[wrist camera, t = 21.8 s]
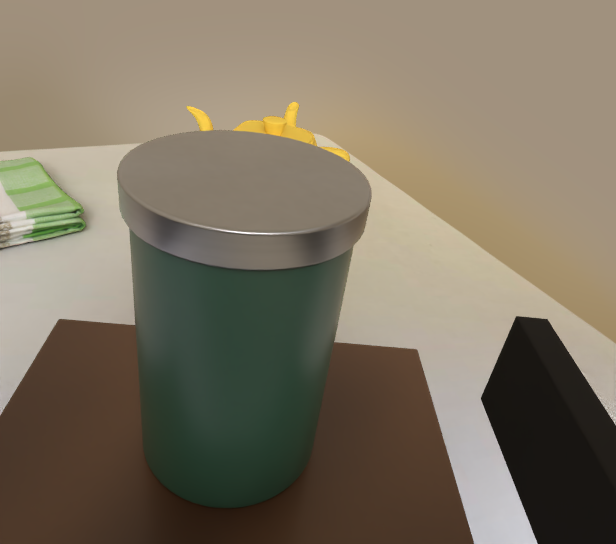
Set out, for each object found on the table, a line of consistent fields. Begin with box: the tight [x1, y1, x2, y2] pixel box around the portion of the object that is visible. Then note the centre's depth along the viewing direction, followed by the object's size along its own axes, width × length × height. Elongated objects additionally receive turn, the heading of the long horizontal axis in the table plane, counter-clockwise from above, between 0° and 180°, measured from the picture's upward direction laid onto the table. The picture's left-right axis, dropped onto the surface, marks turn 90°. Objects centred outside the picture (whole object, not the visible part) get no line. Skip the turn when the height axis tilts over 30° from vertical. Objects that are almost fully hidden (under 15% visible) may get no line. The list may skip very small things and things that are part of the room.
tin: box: [117, 130, 371, 508], centre depth 16 cm, size 6×6×10 cm
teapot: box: [187, 102, 350, 162], centre depth 57 cm, size 14×13×10 cm
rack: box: [0, 319, 474, 544], centre depth 22 cm, size 16×11×11 cm
